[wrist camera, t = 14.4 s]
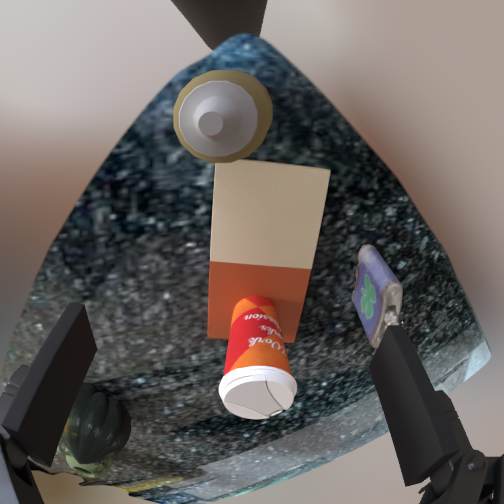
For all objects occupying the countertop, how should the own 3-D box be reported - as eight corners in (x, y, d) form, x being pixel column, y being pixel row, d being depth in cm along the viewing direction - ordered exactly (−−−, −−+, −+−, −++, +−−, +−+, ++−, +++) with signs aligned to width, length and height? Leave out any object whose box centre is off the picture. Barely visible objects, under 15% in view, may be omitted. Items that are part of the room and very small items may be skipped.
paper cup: (296, 316, 41) (313, 402, 28) (250, 343, 43) (252, 429, 31) (259, 276, 38) (265, 364, 26) (211, 308, 40) (200, 396, 28)
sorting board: (216, 157, 32) (215, 158, 32) (329, 169, 33) (330, 170, 32) (207, 334, 43) (207, 337, 42) (293, 340, 44) (294, 343, 43)
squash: (96, 387, 41) (43, 449, 34) (157, 433, 48) (110, 487, 40) (76, 359, 52) (33, 410, 44) (127, 403, 58) (87, 449, 51)
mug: (125, 455, 63) (119, 483, 55) (96, 457, 66) (89, 482, 58) (78, 422, 57) (67, 451, 49) (51, 426, 59) (41, 452, 52)
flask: (358, 243, 37) (392, 294, 27) (380, 242, 37) (418, 291, 27) (349, 305, 41) (373, 362, 32) (369, 303, 41) (396, 359, 32)
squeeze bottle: (175, 101, 29) (99, 109, 13) (242, 58, 27) (237, 11, 11) (219, 163, 32) (191, 233, 16) (285, 122, 30) (329, 150, 14)
